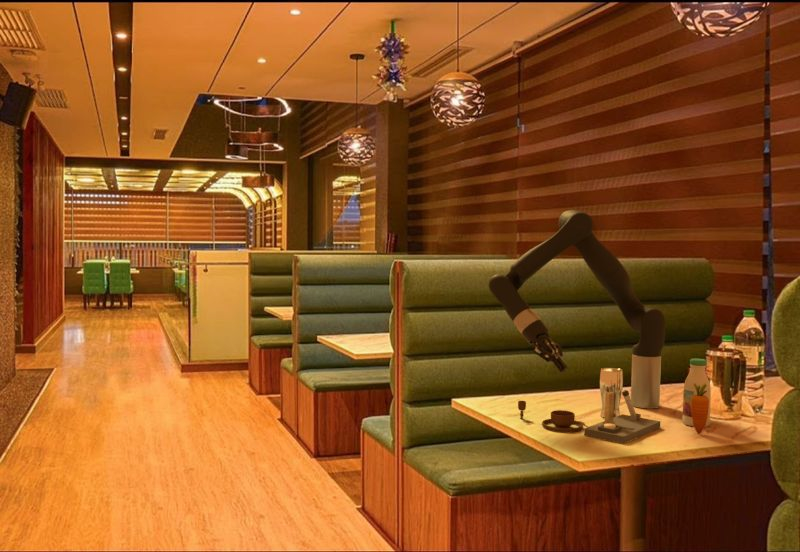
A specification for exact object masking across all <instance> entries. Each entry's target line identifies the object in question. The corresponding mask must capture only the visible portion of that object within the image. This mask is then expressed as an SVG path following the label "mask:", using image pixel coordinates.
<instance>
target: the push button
mask: <svg viewBox="0 0 800 552" xmlns="http://www.w3.org/2000/svg"><path fill="white" fill-rule="evenodd" d="M604 427H605V428H610V429H614V428H616V425H615V424H609V423H607V424H604Z"/></svg>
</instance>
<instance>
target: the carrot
mask: <svg viewBox="0 0 800 552" xmlns="http://www.w3.org/2000/svg"><path fill="white" fill-rule="evenodd" d="M694 386H695V389H696V391H697V395H693V396H692V398H691V413H692V420H693V424H694V426H693V427H694V429H695V431H696V433H697V435H701V434H702V432H703V431H704V429H705V428H706V427H705V425H706V421H707V417H708V408H709V399H708V397H707V396H705V395H703V394H705V393H706V392H707V390H705V391H704V389H705V388H706V386H707V385H706V384H705V383H704V384H703V385H702V387H701V389H700V385H698V386H697V385H696V384H694ZM699 389H700V392H699Z"/></svg>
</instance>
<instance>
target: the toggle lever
mask: <svg viewBox="0 0 800 552" xmlns="http://www.w3.org/2000/svg"><path fill="white" fill-rule="evenodd" d="M621 396H623V398H624V401H625V403H626V407H627V410H628V412H629V416H630V415H635V416H637V415H636V413H637V412H636V410H635V406H633V404H632V402H631V395H630V392H629V390H626V389H624V390H622V394H621Z"/></svg>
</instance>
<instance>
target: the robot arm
mask: <svg viewBox="0 0 800 552" xmlns="http://www.w3.org/2000/svg"><path fill="white" fill-rule="evenodd" d="M558 228H559V230H558V231H556V233H555V234H554V235H552V236H551V237H550V238H548V239H546V240H545V241H543V242H542V243H540V244H537V245H536V246H534V247H533V248H531V249H529V250H528V251H526V252H525V253H523V255H521V256H520V257H519V258H518V259H516V261H514V262H513V263H512V264H511V266H510V269H509V271H508V272H507V273H506V274H501V273H497V274H495V275H492V276H491V277H490V279H489V281H488V288H489V291H490V292H491V294H492V296H493V297H494V298H495V299H496V300H497V301H498V302H499V303H500V304H501V307H503V308H504V310H505V313H506V314H507V315H508V317H509V318H510V319H511V321H512V322H513V323H514V326H515V327H516V329H517V330H518V331H519V333H520V334H521V335H522V337H523V338H524V339H525V340H526V341H527V343H528V344H529V345H531V346H534V347H535V349H534V350H533V353H534V354H535V355H537V356H538V357H540V358H541V359H542V360H544V361H545V362H547V363H551V364H554V365H555V368H557V370H558V371H559V372H560V373H563V372H565V371H566V370H568V366H567V365H566V363H565V362H564V361H563V359H562V357H563V356H564V355H563V349H562V345H561V342H559V341H558V342H554V340H553V339H552V338H551V337H550V336H549V333H550V329H548V327H547V325H546V324H545V323H544V322H543V320H541V318H540V317H539V315H538V314H537V313H536V312H535V311H534V310H533V309H532V308H531V307H530V305H529V304H528V302H527V301H526V300H525V299H524V298H523V297H522V295H520V293H519V292H518V291H519V290H520V289H521V287H522V286H523V285H524V284H525V282H526V281H528V280H529V279H531V277H533V276H534V275H535V274H536V273H537V272H538V271H540V270H541V269H542V268H544V266H546V265H547V264H549V262H551V261H552V260H553V259H555V258H557V257H558V256H560V255H561V254H562V253H563V252H565V251H566V250H568V249H570V248H571V247H572V246H573V247H574V248H575V249H576V250H577V251H578V254H580V255H581V257H582V259H583V261H584V262H585V263H586V265H587V267H588V268H589V269H590V271H591V272H592V274H593V275H594V277H595V278H596V280H597V281H598V283H599V284H600V285H601V286H602V287H603V289H604V290H605V291H606V292H607V294H608V296H609V297H610V298H611V300H612V301H613V302H614V303H615V305H617V307H618V308H619V310H620V312H621V313H622V316H623V318H624V319H625V320H626V323H627V324H628V326H629V327H630V329H631V330H632V331H634V332H636V333H637V334H639V341H638V343H637V344H634V345H633V346H632V348H631V349H632V350H631V351H632V353H631V380H630V382H631V385H630V386H631V387H630V399H631V402H632V404H633V407H634V408H635V407H636V408H642V409H656V408H657V409H658V408H660V402H661V401H660V398H661V372H662V371H661V370H662V367H661V366H662V365H661V364H662V352H663V351H662V350H663V349H664V346H665V338H666V336H665V335H666V317H665V315H664V313H663V312H662V311H661V310H660V309H658V308H652V307H648V306H645V305H644V304H643V303H642V301H640V299H639V298H638V297H637V296H636V294H635V293H634V291H633V287H632V282H631V278H630V275H629V272H628V271H627V270H626V268H625V267H624V266H623V264H622V262H621V261H620V260H619V259H618V258H617V256H616V255H615V254H614V253H612V252H611V250H609V249H608V248H607V246H605V245H604V244H603V243H602V242H601V241H600V240H599V239H598V238H597V236H595V234H594V233H593V229H594V221H593V218H592V217H591V216H590V215H589V214H588V213H586V212H584V211H581V210H578V209H570V210H565V211H564V212H562V213H561V215H560V216H559V218H558Z"/></svg>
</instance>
